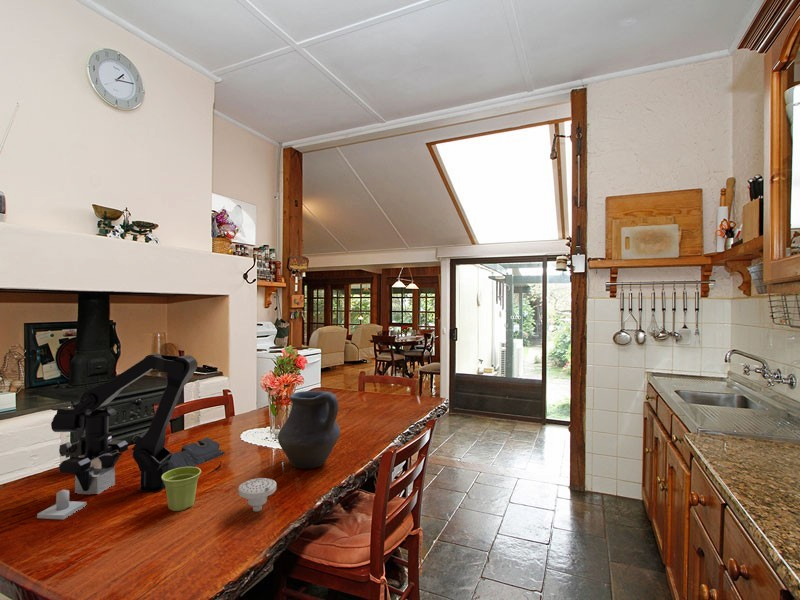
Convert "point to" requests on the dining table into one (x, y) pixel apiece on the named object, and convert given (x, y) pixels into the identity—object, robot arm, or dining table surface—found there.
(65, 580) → the dining table surface
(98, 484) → the collar
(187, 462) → the dark slate chunk
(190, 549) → the dining table surface
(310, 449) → the pitcher
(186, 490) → the plant pot
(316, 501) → the dining table surface
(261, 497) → the showerhead
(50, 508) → the shaft base
